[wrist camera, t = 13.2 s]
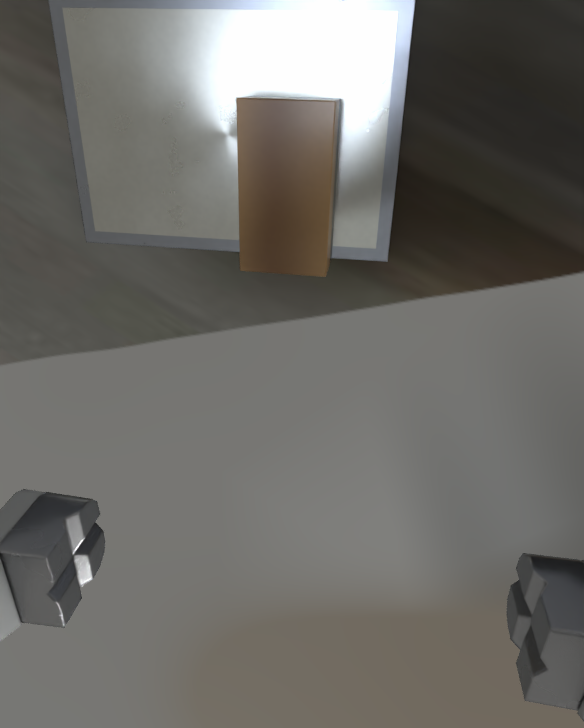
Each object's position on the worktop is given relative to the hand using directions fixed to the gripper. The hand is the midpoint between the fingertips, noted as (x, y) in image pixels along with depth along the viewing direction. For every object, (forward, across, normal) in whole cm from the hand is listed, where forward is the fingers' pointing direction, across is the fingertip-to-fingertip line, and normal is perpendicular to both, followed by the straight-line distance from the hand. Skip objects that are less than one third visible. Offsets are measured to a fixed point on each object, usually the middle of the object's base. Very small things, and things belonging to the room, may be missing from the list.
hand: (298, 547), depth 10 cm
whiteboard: (+27, +8, -5) cm, 28 cm away
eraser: (+26, +4, -3) cm, 26 cm away
